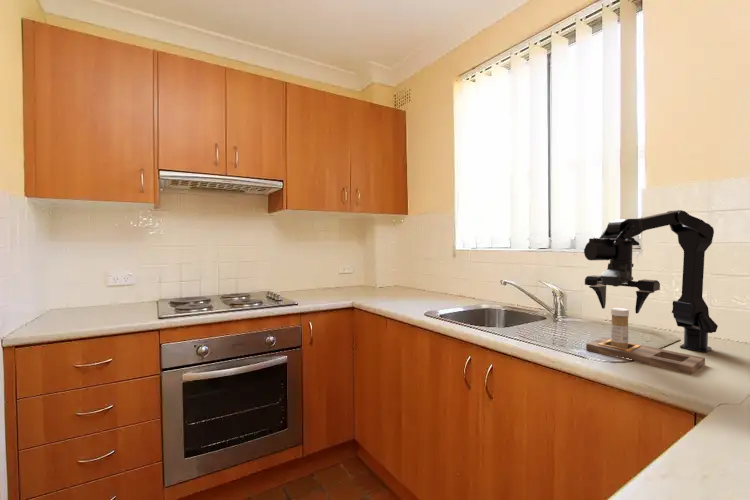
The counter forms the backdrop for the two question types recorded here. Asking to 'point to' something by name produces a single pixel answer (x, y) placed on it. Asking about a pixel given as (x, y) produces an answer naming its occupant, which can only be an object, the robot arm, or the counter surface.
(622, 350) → the rail
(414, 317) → the counter surface
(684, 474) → the counter surface
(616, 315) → the sprinkles bottle
